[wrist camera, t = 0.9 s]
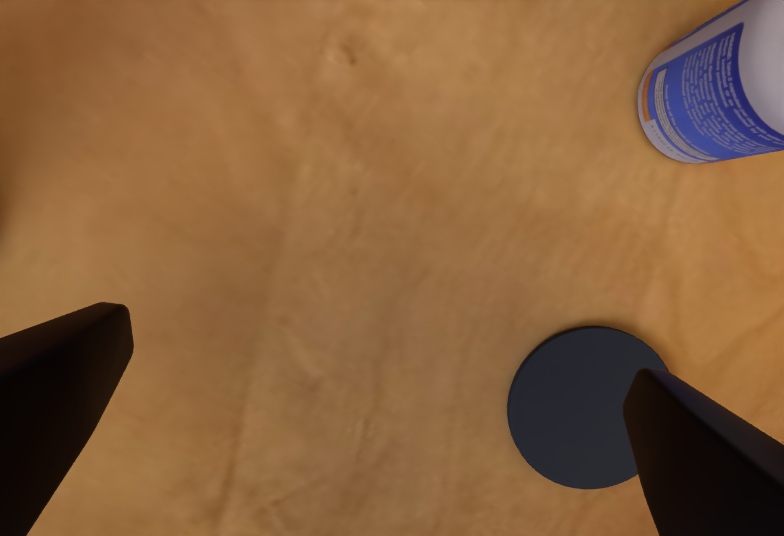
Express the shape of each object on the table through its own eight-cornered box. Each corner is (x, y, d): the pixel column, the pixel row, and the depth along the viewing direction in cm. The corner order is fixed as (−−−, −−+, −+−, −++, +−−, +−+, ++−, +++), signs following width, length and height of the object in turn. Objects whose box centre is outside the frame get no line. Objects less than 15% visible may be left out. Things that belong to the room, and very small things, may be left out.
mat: (563, 514, 24) (566, 520, 23) (475, 387, 23) (476, 390, 22) (701, 426, 23) (707, 430, 23) (616, 293, 22) (620, 294, 22)
